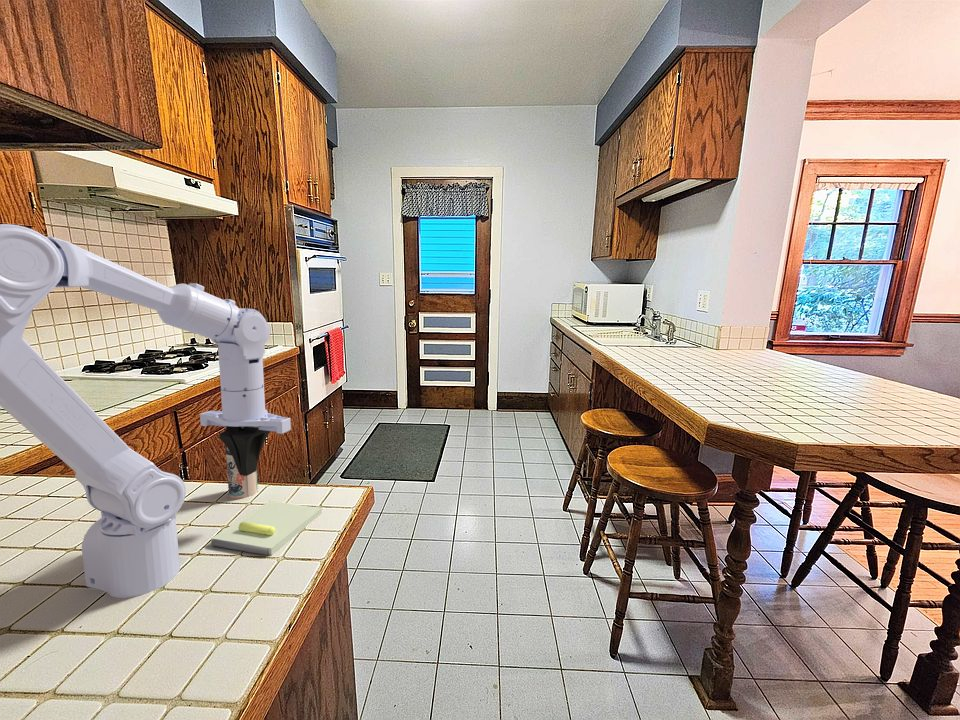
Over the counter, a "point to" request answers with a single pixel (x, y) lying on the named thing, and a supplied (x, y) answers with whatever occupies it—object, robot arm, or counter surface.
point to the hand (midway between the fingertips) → (248, 473)
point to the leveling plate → (266, 528)
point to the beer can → (239, 480)
